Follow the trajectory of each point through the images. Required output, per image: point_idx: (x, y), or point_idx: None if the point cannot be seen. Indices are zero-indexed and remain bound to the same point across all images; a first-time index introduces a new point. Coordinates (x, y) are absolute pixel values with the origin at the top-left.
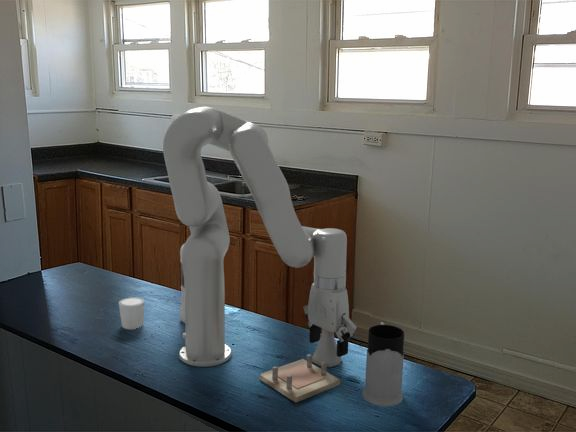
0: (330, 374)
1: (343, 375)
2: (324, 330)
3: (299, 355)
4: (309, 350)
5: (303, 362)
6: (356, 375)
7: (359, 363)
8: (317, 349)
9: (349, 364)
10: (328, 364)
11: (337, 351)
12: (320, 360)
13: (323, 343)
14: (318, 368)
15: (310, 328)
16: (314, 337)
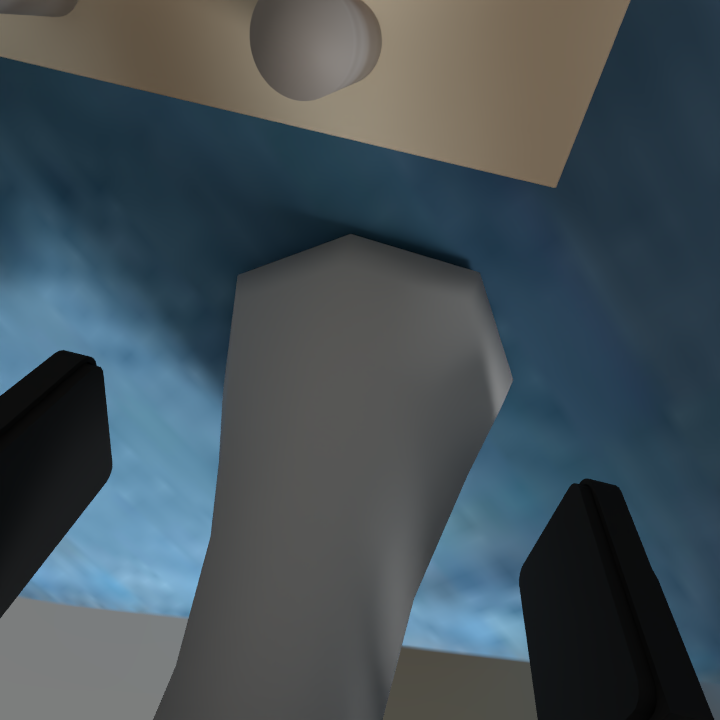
0: (9, 52)
1: (58, 228)
2: (240, 714)
3: (677, 317)
4: (623, 453)
5: (487, 95)
6: (5, 300)
7: (152, 468)
8: (408, 380)
9: (185, 421)
10: (249, 286)
11: (35, 390)
12: (329, 275)
13: (297, 461)
14: (217, 85)
15: (682, 708)
16: (569, 567)
